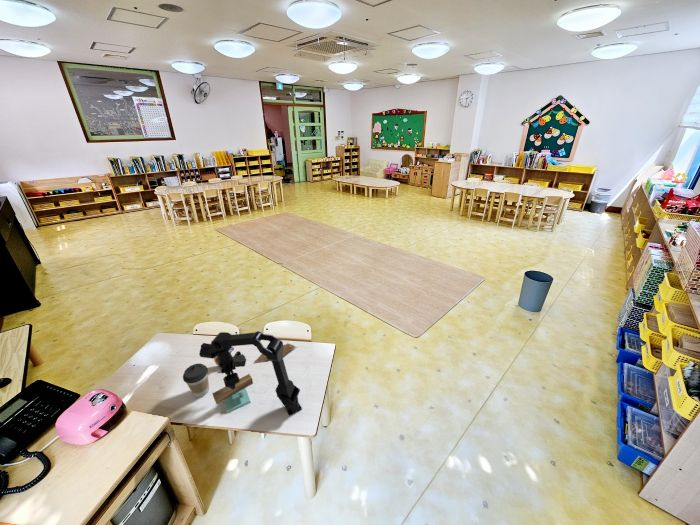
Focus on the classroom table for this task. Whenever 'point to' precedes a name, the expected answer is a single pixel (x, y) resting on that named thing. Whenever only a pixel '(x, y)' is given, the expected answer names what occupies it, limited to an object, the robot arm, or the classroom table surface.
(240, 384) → the walnut bar
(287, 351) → the wooden fragment
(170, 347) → the classroom table surface
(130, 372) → the classroom table surface
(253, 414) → the classroom table surface
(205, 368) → the coffee cup
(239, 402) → the fulcrum block
